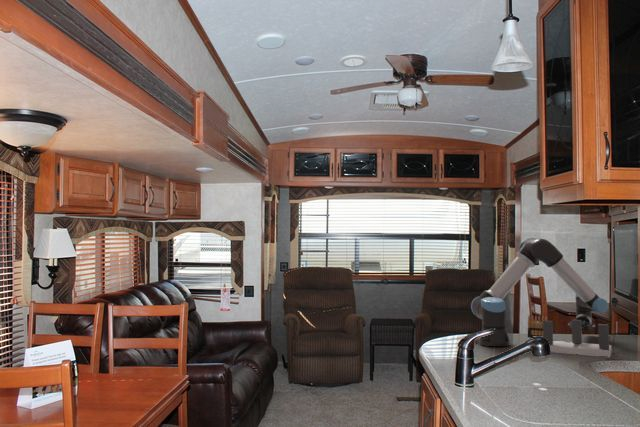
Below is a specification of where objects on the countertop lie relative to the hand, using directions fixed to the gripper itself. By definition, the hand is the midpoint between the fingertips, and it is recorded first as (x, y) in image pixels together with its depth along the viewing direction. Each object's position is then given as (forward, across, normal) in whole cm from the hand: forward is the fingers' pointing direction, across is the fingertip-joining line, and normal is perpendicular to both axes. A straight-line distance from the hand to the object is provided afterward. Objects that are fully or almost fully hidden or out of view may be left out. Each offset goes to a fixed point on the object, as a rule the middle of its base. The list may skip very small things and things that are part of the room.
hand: (578, 330), depth 266 cm
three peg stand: (+8, +1, -9) cm, 12 cm away
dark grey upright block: (+4, +1, -6) cm, 7 cm away
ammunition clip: (-20, +22, -9) cm, 31 cm away
